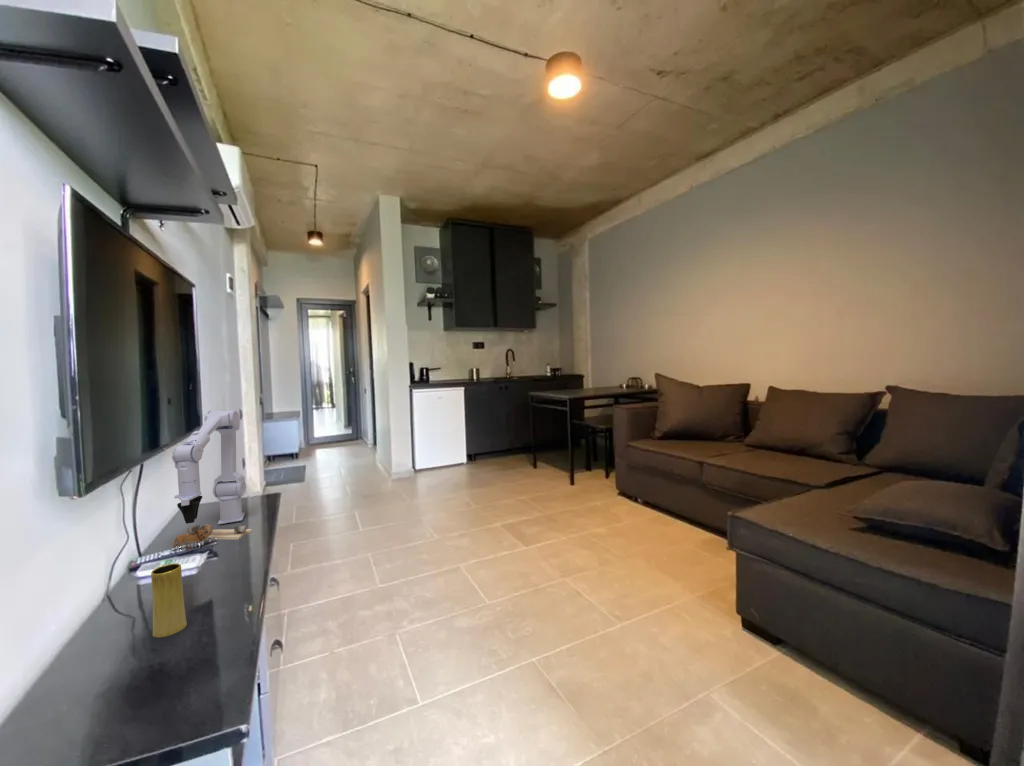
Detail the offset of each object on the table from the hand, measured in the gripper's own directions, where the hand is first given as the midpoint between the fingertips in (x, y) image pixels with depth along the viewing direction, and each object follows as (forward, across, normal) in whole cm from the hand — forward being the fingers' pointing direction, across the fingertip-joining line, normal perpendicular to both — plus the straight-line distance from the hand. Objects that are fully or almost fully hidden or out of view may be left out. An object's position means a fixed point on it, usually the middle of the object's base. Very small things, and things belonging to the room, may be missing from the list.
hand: (191, 521), depth 140 cm
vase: (+10, +53, +5) cm, 54 cm away
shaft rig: (+9, -9, +6) cm, 14 cm away
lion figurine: (+10, 0, 0) cm, 10 cm away
